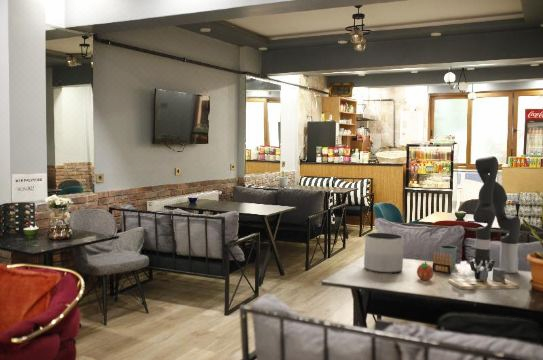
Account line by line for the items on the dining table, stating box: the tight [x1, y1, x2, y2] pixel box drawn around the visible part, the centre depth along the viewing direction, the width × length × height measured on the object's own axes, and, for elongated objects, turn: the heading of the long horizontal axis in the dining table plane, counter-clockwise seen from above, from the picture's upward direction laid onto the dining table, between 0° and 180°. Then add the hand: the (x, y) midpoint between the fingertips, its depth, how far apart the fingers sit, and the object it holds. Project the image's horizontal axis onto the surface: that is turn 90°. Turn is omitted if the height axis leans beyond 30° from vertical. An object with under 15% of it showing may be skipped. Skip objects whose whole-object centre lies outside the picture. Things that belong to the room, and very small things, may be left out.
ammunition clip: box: [431, 251, 452, 275], centre depth 301 cm, size 11×2×12 cm, turn 55°
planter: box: [363, 232, 404, 274], centre depth 306 cm, size 22×22×20 cm
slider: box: [474, 268, 489, 283], centre depth 277 cm, size 4×8×6 cm, turn 8°
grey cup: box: [439, 244, 458, 269], centre depth 318 cm, size 10×10×12 cm
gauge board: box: [447, 267, 520, 290], centre depth 276 cm, size 32×14×8 cm, turn 98°
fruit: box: [416, 261, 434, 281], centre depth 284 cm, size 9×10×10 cm
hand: (481, 278), depth 278 cm, fingers closed on slider, 4 cm apart
